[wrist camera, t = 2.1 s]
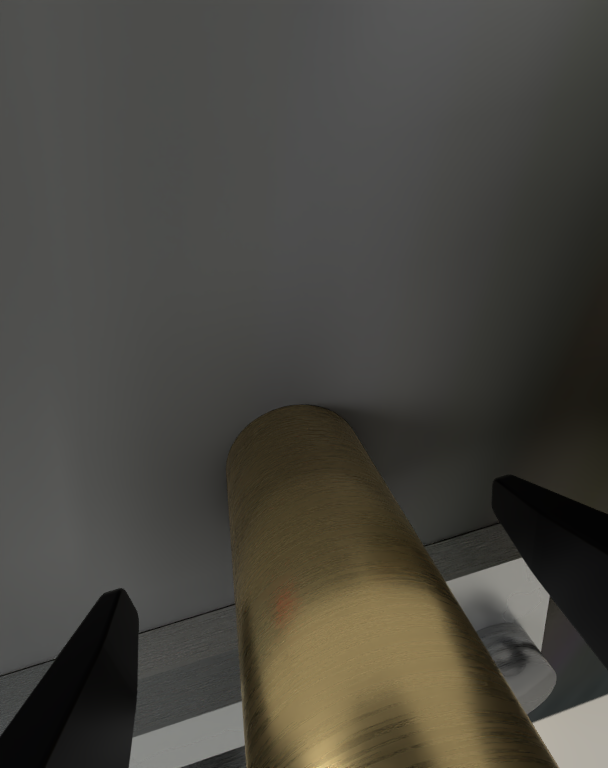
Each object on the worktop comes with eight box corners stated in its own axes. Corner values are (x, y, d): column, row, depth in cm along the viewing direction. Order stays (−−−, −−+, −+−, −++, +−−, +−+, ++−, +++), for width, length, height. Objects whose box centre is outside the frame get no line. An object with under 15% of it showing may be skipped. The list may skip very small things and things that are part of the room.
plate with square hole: (527, 515, 15) (639, 629, 11) (510, 668, 20) (587, 788, 16) (-149, 722, 13) (-311, 965, 9) (10, 844, 17) (-50, 1042, 13)
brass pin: (351, 390, 12) (678, 838, 4) (366, 498, 13) (603, 957, 5) (209, 426, 11) (215, 1036, 3) (244, 532, 13) (304, 1093, 5)
